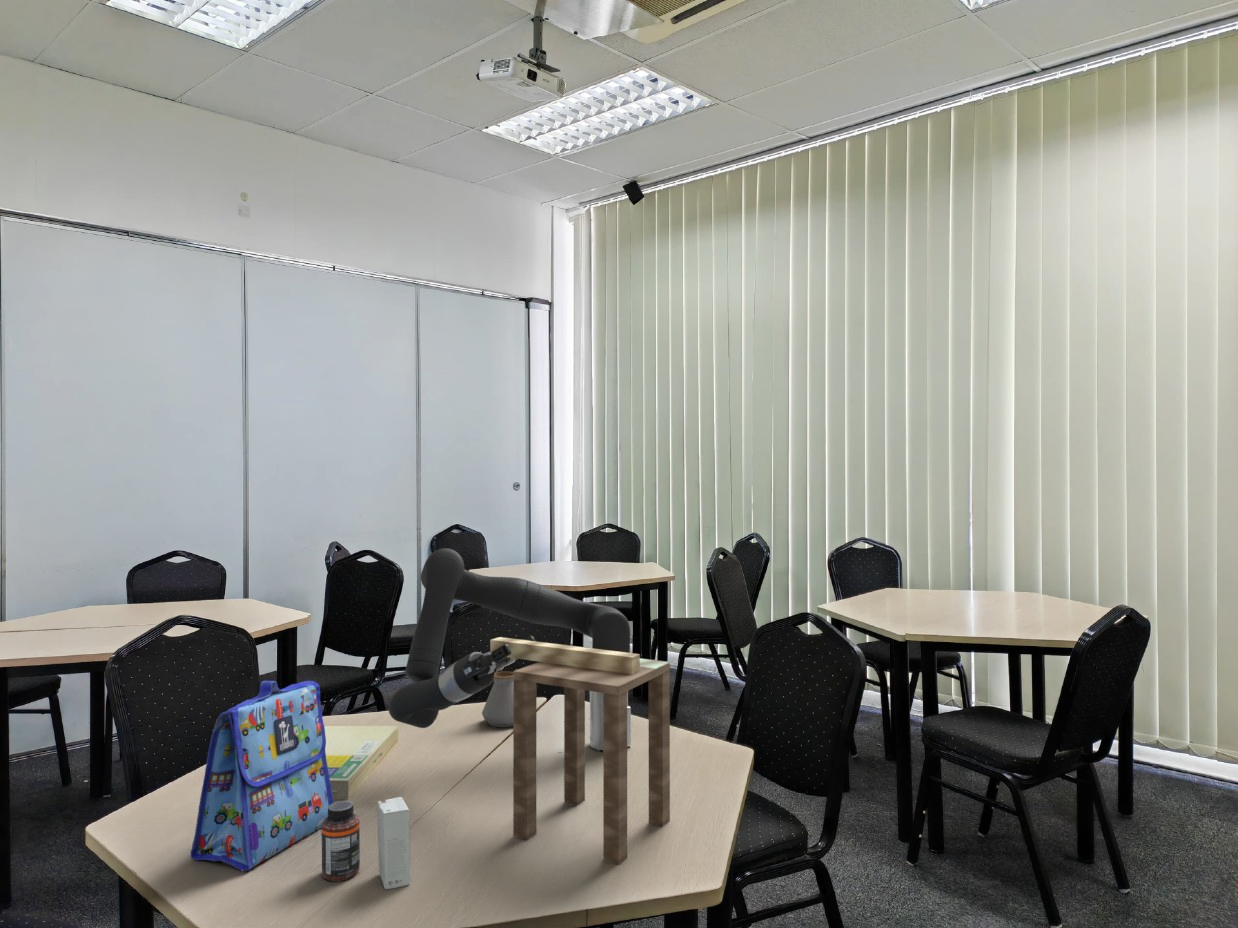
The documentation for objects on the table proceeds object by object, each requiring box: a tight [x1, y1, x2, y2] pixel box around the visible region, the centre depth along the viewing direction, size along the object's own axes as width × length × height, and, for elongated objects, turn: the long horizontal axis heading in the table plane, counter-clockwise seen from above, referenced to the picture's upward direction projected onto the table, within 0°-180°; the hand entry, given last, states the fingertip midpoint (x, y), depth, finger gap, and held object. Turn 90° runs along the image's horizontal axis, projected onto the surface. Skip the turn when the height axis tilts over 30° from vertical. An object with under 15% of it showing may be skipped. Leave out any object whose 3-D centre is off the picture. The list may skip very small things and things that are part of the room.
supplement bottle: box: [321, 800, 361, 882], centre depth 133 cm, size 6×6×11 cm
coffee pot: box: [481, 671, 514, 728], centre depth 214 cm, size 21×12×15 cm, turn 99°
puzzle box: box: [324, 725, 399, 800], centre depth 181 cm, size 36×5×24 cm
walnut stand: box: [512, 657, 671, 865], centre depth 150 cm, size 22×20×30 cm
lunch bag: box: [190, 680, 334, 872], centre depth 145 cm, size 22×14×29 cm, turn 160°
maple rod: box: [489, 636, 641, 674], centre depth 154 cm, size 32×3×3 cm, turn 61°
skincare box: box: [377, 796, 412, 890], centre depth 131 cm, size 6×4×12 cm
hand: (521, 644), depth 158 cm, fingers open, 8 cm apart
